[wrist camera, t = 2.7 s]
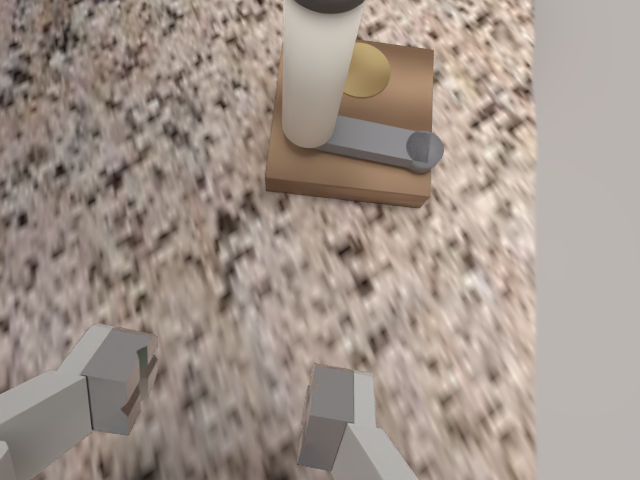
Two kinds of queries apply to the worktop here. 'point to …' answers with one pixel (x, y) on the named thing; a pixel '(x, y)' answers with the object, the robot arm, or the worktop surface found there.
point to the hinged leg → (337, 90)
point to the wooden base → (369, 105)
